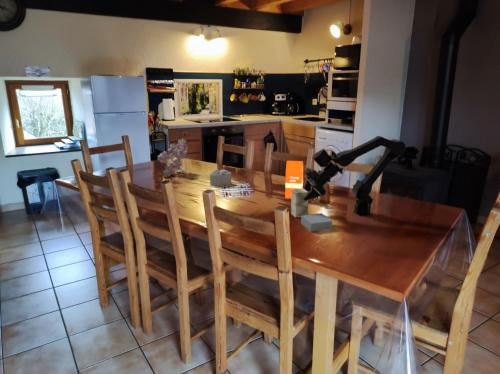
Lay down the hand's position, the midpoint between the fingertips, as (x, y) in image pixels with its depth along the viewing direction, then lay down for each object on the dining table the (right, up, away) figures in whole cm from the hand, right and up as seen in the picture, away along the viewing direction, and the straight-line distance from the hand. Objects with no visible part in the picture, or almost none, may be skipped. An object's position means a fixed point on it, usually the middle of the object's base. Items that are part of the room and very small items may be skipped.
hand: (302, 197), depth 172 cm
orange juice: (0, -1, +30) cm, 30 cm away
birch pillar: (-1, -9, +2) cm, 9 cm away
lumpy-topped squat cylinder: (-43, +6, +57) cm, 72 cm away
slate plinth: (+5, -13, -11) cm, 17 cm away
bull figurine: (+8, -3, +21) cm, 23 cm away
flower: (-77, +13, +81) cm, 113 cm away
